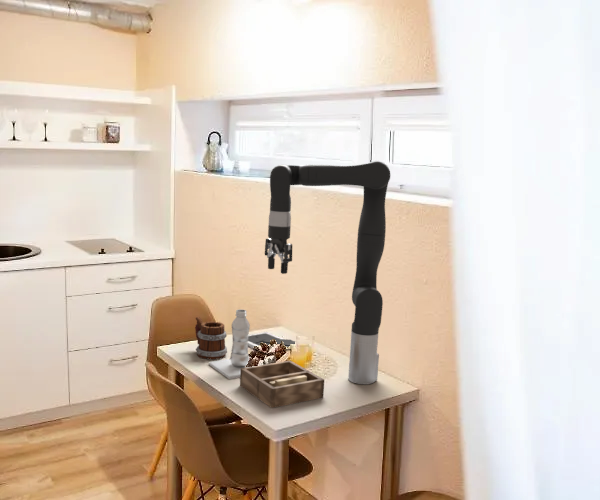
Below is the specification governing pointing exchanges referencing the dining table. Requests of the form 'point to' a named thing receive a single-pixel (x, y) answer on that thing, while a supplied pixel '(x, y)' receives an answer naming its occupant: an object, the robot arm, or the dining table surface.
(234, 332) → the plastic bottle
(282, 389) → the walnut divided box
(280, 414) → the dining table surface
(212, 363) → the grey plate
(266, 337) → the picture frame
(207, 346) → the mug
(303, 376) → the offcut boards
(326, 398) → the dining table surface
